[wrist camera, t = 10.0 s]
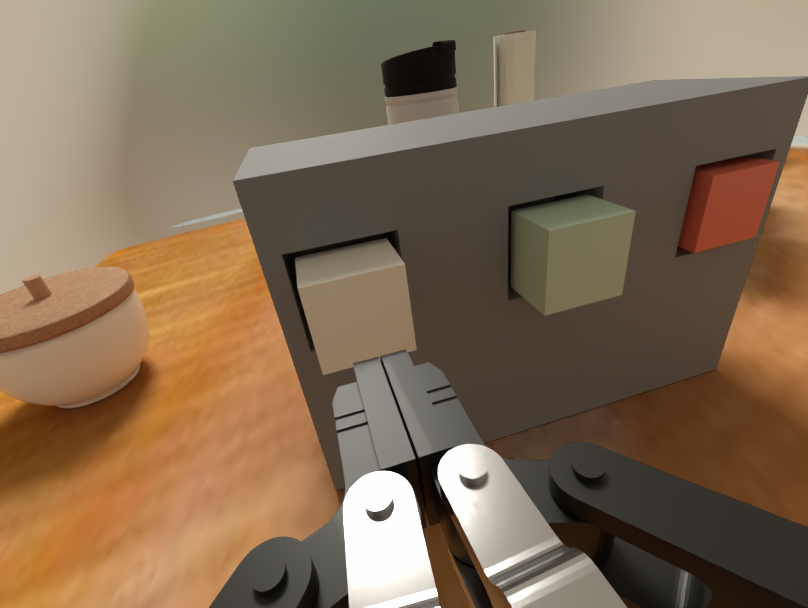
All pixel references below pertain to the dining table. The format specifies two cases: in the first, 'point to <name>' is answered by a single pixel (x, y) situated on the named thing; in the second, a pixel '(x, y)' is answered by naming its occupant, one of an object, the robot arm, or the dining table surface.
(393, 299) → the cream button
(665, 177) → the console
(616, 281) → the green button
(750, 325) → the dining table surface
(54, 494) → the dining table surface
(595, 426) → the dining table surface
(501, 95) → the paper towel roll
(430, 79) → the travel mug
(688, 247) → the red button
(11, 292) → the lidded jar
